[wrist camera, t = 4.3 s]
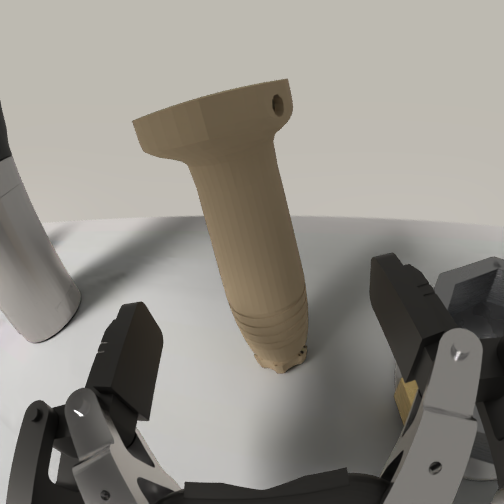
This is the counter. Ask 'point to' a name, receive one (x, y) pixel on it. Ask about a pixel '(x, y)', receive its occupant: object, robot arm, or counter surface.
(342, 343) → the counter surface
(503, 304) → the grey shallow octagonal dish
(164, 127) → the handle
